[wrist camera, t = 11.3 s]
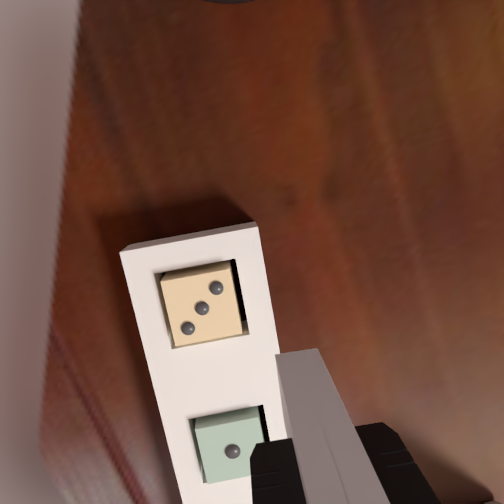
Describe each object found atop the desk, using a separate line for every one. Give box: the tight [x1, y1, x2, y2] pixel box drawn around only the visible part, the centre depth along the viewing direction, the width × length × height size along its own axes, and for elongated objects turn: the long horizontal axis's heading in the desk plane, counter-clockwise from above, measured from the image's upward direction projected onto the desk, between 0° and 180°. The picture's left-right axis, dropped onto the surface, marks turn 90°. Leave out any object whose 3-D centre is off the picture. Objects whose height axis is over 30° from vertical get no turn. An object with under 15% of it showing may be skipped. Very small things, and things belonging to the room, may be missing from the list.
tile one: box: [195, 406, 265, 484], centre depth 33 cm, size 5×5×4 cm
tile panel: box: [119, 221, 287, 504], centre depth 33 cm, size 34×10×3 cm, turn 10°
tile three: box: [160, 260, 243, 346], centre depth 30 cm, size 5×5×4 cm
